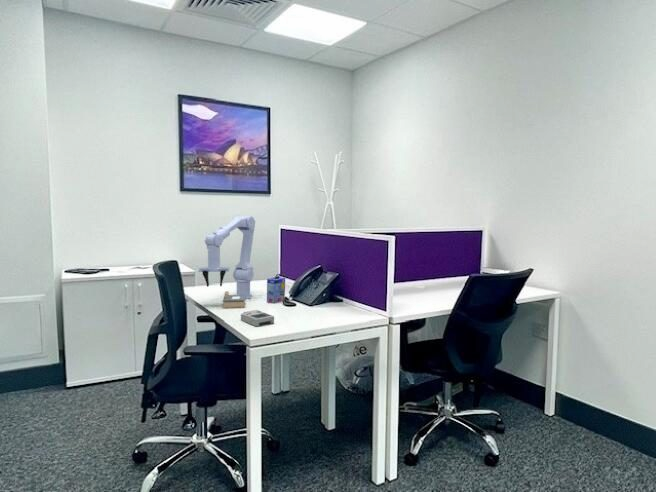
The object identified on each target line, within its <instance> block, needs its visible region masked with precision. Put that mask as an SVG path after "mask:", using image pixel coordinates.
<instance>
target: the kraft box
mask: <svg viewBox="0 0 656 492" xmlns="http://www.w3.org/2000/svg"><path fill="white" fill-rule="evenodd" d="M222 302H223V301H222ZM245 305H246V300H245V301H235V302H223V307H222V308H223V309H244V308H246V307H245Z"/></svg>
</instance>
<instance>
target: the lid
mask: <svg viewBox="0 0 656 492" xmlns="http://www.w3.org/2000/svg"><path fill="white" fill-rule="evenodd" d="M235 301H245V302H246V299H245V295H237V294H229V290H227V291H224V295H223V299H222V302H235Z"/></svg>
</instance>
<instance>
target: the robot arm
mask: <svg viewBox="0 0 656 492" xmlns="http://www.w3.org/2000/svg"><path fill="white" fill-rule="evenodd" d="M255 227H256V220H255V217H254V216H252V215H249V216H248V215H236V216H235V217H233V219H232V221H230V222H229V223H228V224H227V225H225V226H219V228H218V229H217V230H215V231H214V232H212V234H208V235H207V236H205V239H204V243H205V245H206V250H207V266H206V267H205V266H204V267H203V266H202V267H199V268H198V272H199V273H202V274H201V275H202V276H203V278H204V281H205V283H206V287H207V288H208V287H209V286H210V283H209V282H210V281H209V272H213V273H214V272H219V287H222V286H223V281H224V277H225V274H226V272H228V273H229V272H230V267H229V266H221V246H222V245H223V242H224V240H225V239H227V238H228V237H229V236H230V235H231V232H233V231H234V230H236V229H238V230H239V231H240V232H241V233H242V243H241V248H240V249H241V250H240V254H239V262H237V263H238V264H236V265H235V267H234V270H233V273H232V277H233V279H234V280H235V282H236V295H245V300H247V299H250V300H251V299H252V294H251V282H252V280H253V278H254V267H253V265H251V264H250V263H251V262H250V261H251V255H252V247H253V240H254V231H255Z"/></svg>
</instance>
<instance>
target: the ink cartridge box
mask: <svg viewBox="0 0 656 492" xmlns="http://www.w3.org/2000/svg"><path fill="white" fill-rule="evenodd" d="M284 298H286V277H285V276H284V277H283V276H281V273H278V274H276V275H275V277H270V278H267V279H266V303H271V304H276V303H279V302H280V303H281V302H282V300H283V299H284ZM283 301H284V300H283Z"/></svg>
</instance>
